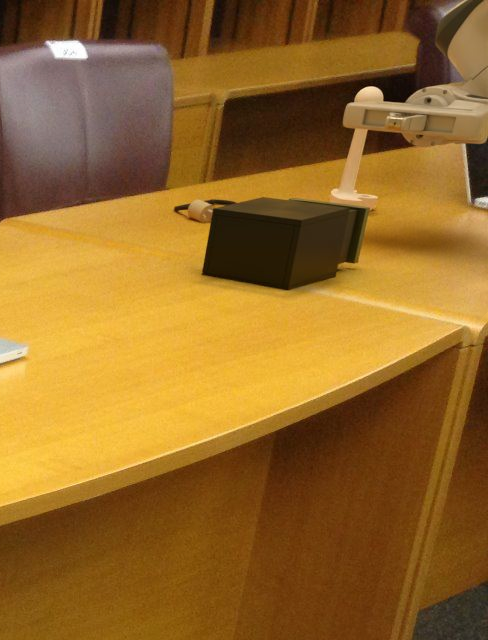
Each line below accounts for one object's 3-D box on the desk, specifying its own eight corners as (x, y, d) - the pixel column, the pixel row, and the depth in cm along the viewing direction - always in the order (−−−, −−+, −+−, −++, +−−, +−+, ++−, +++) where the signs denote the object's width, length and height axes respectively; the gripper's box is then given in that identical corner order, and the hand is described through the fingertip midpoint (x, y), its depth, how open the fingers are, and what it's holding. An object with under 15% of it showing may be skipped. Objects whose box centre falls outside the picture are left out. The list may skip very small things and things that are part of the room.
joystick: (326, 200, 274) (355, 82, 265) (371, 204, 272) (402, 85, 262) (330, 211, 265) (360, 89, 255) (377, 215, 262) (410, 92, 253)
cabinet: (250, 264, 225) (263, 196, 221) (335, 277, 217) (350, 207, 212) (200, 278, 216) (213, 208, 212) (287, 292, 208) (301, 220, 204)
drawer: (295, 247, 232) (305, 194, 228) (370, 258, 224) (383, 203, 221) (237, 263, 221) (248, 208, 218) (315, 275, 213) (327, 218, 210)
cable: (147, 206, 265) (151, 186, 264) (229, 205, 269) (233, 185, 267) (200, 225, 252) (204, 204, 250) (285, 223, 256) (290, 202, 254)
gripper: (369, 89, 241) (330, 95, 233) (508, 99, 228) (471, 106, 220) (360, 131, 244) (321, 139, 236) (496, 144, 231) (460, 152, 222)
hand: (394, 123), depth 228 cm, fingers closed
